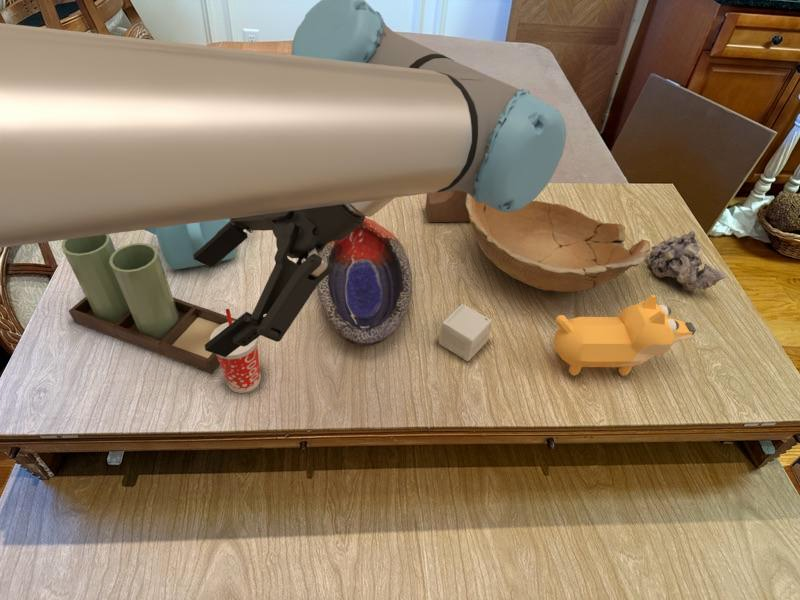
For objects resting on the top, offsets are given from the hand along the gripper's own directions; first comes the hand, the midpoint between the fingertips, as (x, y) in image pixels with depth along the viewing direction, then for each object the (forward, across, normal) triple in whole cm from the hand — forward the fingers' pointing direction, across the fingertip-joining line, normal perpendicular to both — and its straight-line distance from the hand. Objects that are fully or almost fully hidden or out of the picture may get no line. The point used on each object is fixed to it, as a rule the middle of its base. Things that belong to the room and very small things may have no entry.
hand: (208, 303), depth 62 cm
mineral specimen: (-47, +2, -64) cm, 80 cm away
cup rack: (+19, +13, -8) cm, 25 cm away
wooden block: (-20, +29, -46) cm, 58 cm away
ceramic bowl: (-30, +10, -51) cm, 59 cm away
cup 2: (+19, +13, -8) cm, 25 cm away
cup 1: (+24, +18, -5) cm, 31 cm away
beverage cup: (+10, 0, -14) cm, 18 cm away
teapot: (+16, +33, -15) cm, 39 cm away
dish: (-5, +13, -30) cm, 33 cm away
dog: (-30, -13, -48) cm, 58 cm away
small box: (-15, -3, -36) cm, 39 cm away
